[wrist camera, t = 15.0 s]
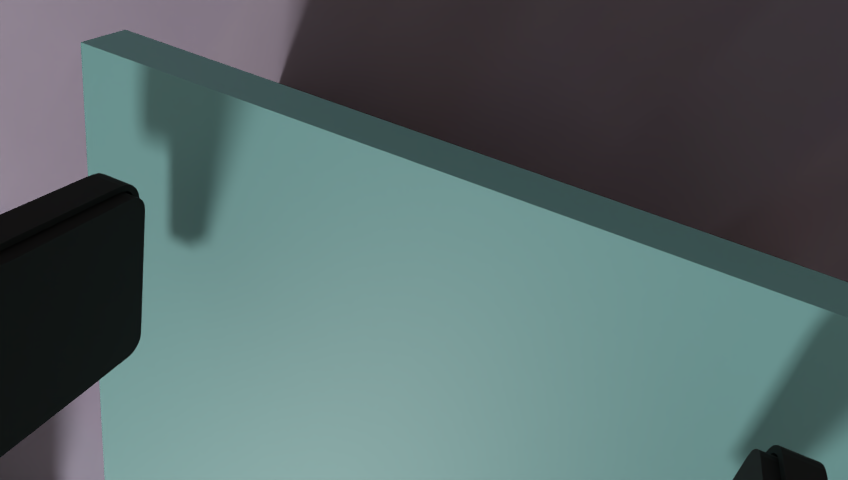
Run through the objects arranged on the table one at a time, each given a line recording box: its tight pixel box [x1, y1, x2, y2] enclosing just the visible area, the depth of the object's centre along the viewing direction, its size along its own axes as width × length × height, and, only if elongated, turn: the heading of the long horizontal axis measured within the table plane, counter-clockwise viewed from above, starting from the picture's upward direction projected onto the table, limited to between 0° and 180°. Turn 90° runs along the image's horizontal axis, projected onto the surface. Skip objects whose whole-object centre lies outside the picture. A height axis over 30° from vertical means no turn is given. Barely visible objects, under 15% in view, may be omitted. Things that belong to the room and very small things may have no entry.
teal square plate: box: [81, 30, 848, 480], centre depth 13 cm, size 12×13×1 cm
